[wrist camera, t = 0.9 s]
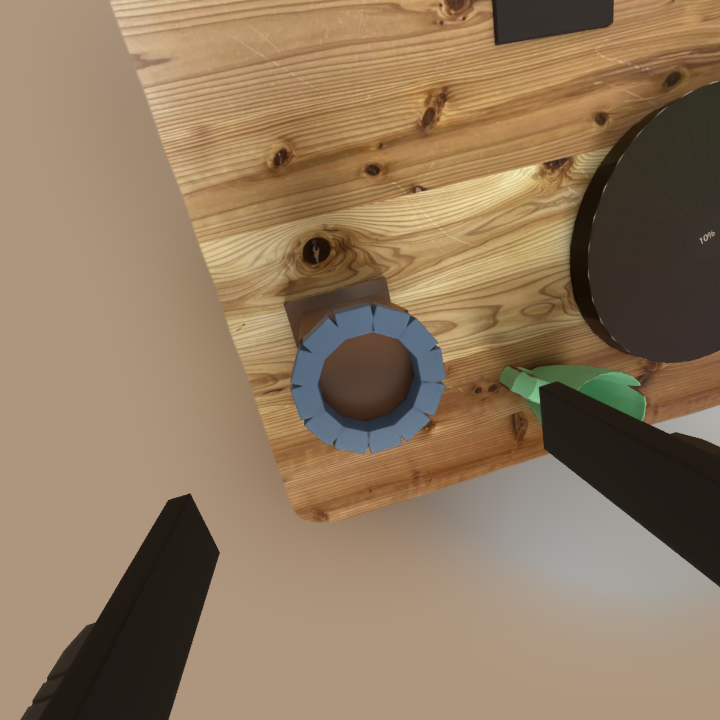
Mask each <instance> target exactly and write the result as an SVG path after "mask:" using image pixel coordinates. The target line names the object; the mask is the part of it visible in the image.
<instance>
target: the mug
mask: <svg viewBox="0 0 720 720" xmlns="http://www.w3.org/2000/svg"><path fill="white" fill-rule="evenodd" d="M556 381H558V382H560V383H563V384H565V385H567V386H569V387H571V388H573V389H575V390H577V391H579V392H582V393H584V394H586V395H588V396H590V397H592V398H594V399H596V400H598V401H601V402H603V403H605V404H607V405H609V406H611V407H613V408H615V409H617V410H620V411H622V412H624V413H626V414H628V415H630V416H632V417H634V418H636V419H639V420H641V421H643V419H644V415H645V409H646V400H645V396H644V395H643V394H642V393H641V392H639V391H638V390H636V389H634V388H632V387H631V386H629V385H633V386H641V385H640V383H639V381H638V380H636V379H635V378H633V377H632V376H631V375H629V374H627V373H624V372H620V371H616V370H611V369H606V368H598V367H591V366H581V365H551V366H541V367H536V368H534V369H532V370H528V369H525V368H522V367H519V366H516V365H508V366H507V367H506V368H504V369H503V371H502V372H501V375H500V384H501V385H503V386H504V387H505V388H507V389H508V390H510V391H511V392H513V393H515V394H517V395H519V396H521V397H523V398H525V399H526V401H527V403H528V405H529V407H530V408H531V410H532V411H533V413H534V414H535V416H536V417H537V419H538V420H539V421H540V422H541V424H542V419H541V408H540V397H539V387H540V386H543V385H546V384H549V383H553V382H556Z"/></svg>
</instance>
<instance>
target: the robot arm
mask: <svg viewBox="0 0 720 720" xmlns="http://www.w3.org/2000/svg"><path fill="white" fill-rule="evenodd" d="M539 397H540V408H541V419H542V430H543V441H544V449H545V450H547V451H548V452H549V453H550V454H552V455H553V456H554V457H555V458H557V459H558V460H559V461H560V462H562V463H563V464H564V465H566V466H567V467H568V468H569V469H571V470H572V471H573V472H575V473H576V474H577V475H578V476H580V477H581V478H582V479H583V480H585V481H586V482H587V483H588V484H590V485H591V486H592V487H594V488H595V489H596V490H597V491H599V492H600V493H601V494H602V495H604V496H605V497H606V498H607V499H609V500H610V501H611V502H613V503H614V504H615V505H616V506H618V507H619V508H620V509H621V510H623V511H624V512H625V513H627V514H628V515H629V516H630V517H632V518H633V519H634V520H635V521H637V522H638V523H639V524H641V525H642V526H643V527H644V528H646V529H647V530H648V531H649V532H651V533H652V534H653V535H655V536H656V537H657V538H658V539H660V540H661V541H662V542H664V543H665V544H666V545H667V546H669V547H670V548H671V549H672V550H674V551H675V552H676V553H678V554H679V555H680V556H681V557H682V558H684V559H685V560H686V561H688V562H689V563H690V564H691V565H693V566H694V567H695V568H697V569H698V570H699V571H700V572H701V573H703V574H704V575H705V576H707V577H708V578H709V579H710V580H712V581H713V582H715V583H716V584H717V585H718V586H719V587H720V447H719V446H716V445H714V444H712V443H710V442H708V441H705V440H703V439H699V438H696V437H691V436H688V435H684V434H680V433H677V432H675V433H672V434H668V433H666V432H664V431H662V430H660V429H658V428H655V427H653V426H651V425H649V424H647V423H645V422H643V421H641V420H639V419H636V418H634V417H632V416H630V415H628V414H626V413H624V412H622V411H620V410H617V409H615V408H613V407H611V406H609V405H607V404H605V403H603V402H601V401H598V400H596V399H594V398H592V397H590V396H588V395H586V394H584V393H582V392H579V391H577V390H575V389H573V388H571V387H569V386H567V385H565V384H563V383H560V382H558V381H556V382H553V383H549V384H546V385H543V386H540V387H539ZM219 553H220V552H219V550H218V548H217V546H216V544H215V542H214V540H213V538H212V536H211V534H210V532H209V530H208V528H207V526H206V524H205V522H204V520H203V518H202V516H201V514H200V512H199V510H198V508H197V506H196V504H195V502H194V500H193V498H192V496H191V494H187V495H183V496H180V497H177V498H173V499H170V500H168V502H167V503H166V505H165V506H164V508H163V510H162V511H161V513H160V515H159V517H158V518H157V520H156V522H155V524H154V525H153V527H152V529H151V530H150V532H149V533H148V535H147V537H146V539H145V540H144V542H143V544H142V545H141V547H140V549H139V551H138V552H137V554H136V555H135V557H134V559H133V560H132V562H131V564H130V566H129V567H128V569H127V571H126V573H125V574H124V576H123V577H122V579H121V581H120V582H119V584H118V586H117V588H116V589H115V591H114V593H113V595H112V596H111V598H110V599H109V601H108V603H107V604H106V606H105V608H104V610H103V611H102V613H101V615H100V616H99V618H98V620H97V621H96V623H93V624H90V625H87V626H86V627H85V628H84V629H83V630H82V631H81V632H80V633H79V634H78V636H77V637H76V638H75V639H74V640H73V641H72V642H71V643H70V645H69V646H68V647H67V648H66V649H65V650H64V652H63V653H62V655H61V656H60V658H59V660H58V661H57V663H56V664H55V666H54V667H53V669H52V671H51V672H50V674H49V676H48V677H47V682H46V683H44V684H43V685H42V686H41V688H40V690H39V691H38V693H37V694H36V696H35V698H34V699H33V704H32V706H30V707H28V709H27V710H26V712H25V713H24V715H23V717H22V718H21V720H169V716H170V713H171V710H172V707H173V703H174V700H175V697H176V693H177V690H178V687H179V684H180V680H181V677H182V674H183V671H184V667H185V664H186V660H187V658H188V654H189V651H190V647H191V644H192V641H193V638H194V635H195V631H196V628H197V625H198V622H199V618H200V615H201V612H202V609H203V605H204V601H205V599H206V596H207V592H208V589H209V585H210V583H211V579H212V576H213V573H214V569H215V566H216V563H217V560H218V556H219Z"/></svg>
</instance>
